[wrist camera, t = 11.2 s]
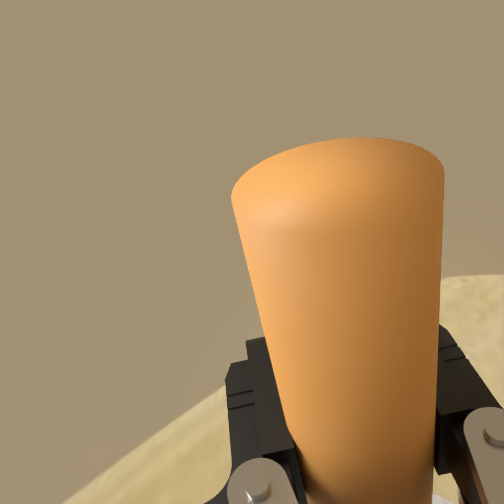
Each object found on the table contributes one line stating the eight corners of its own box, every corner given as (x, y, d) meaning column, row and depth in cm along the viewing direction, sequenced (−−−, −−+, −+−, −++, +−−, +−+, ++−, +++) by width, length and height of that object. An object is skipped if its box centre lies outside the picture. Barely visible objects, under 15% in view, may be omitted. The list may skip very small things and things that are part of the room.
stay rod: (307, 597, 15) (190, 216, 7) (348, 506, 17) (292, 135, 9) (409, 664, 13) (401, 252, 5) (441, 553, 15) (468, 141, 7)
